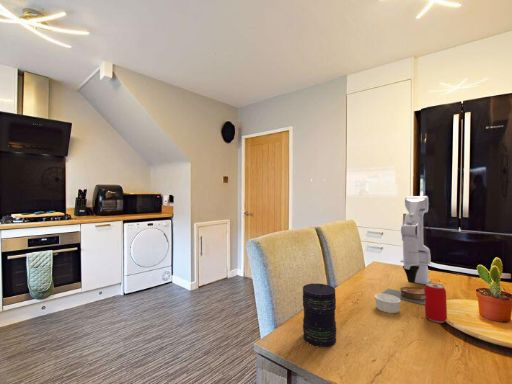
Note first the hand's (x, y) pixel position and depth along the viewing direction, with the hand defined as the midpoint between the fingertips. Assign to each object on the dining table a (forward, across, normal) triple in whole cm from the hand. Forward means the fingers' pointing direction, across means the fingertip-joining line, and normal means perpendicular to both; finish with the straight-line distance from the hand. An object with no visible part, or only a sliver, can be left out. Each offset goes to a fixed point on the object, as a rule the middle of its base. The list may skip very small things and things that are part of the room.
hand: (411, 282), depth 112 cm
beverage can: (+6, +21, +12) cm, 25 cm away
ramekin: (+6, +23, -3) cm, 24 cm away
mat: (+5, +4, 0) cm, 7 cm away
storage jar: (+6, +60, -11) cm, 61 cm away
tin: (+4, -3, 0) cm, 5 cm away
